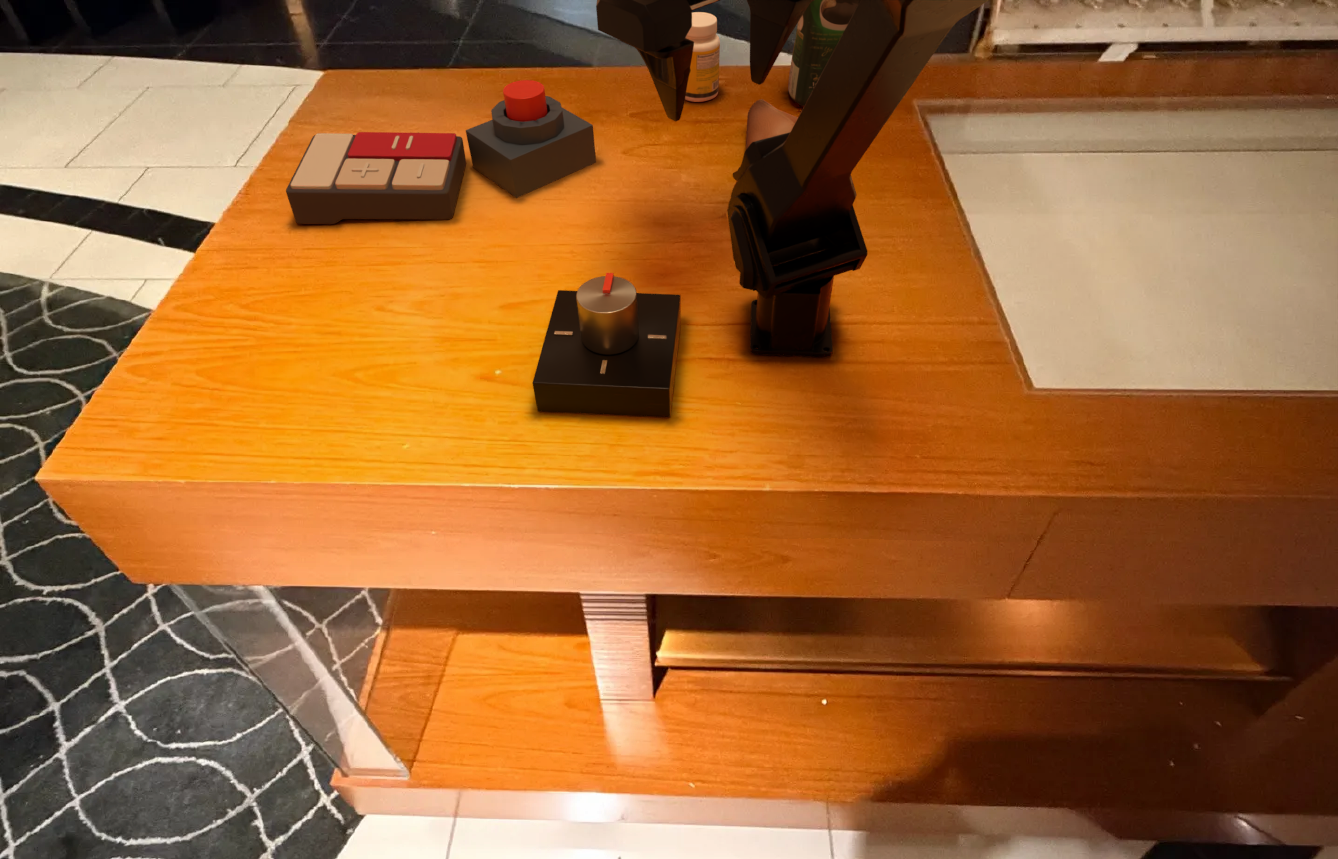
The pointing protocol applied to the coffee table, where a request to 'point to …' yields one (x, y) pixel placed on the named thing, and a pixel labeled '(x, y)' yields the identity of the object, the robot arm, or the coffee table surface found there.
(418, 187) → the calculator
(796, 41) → the coffee jar
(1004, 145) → the coffee table surface
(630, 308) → the stove knob
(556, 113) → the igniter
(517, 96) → the button
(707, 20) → the supplement bottle
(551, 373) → the panel
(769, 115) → the sunglasses case
